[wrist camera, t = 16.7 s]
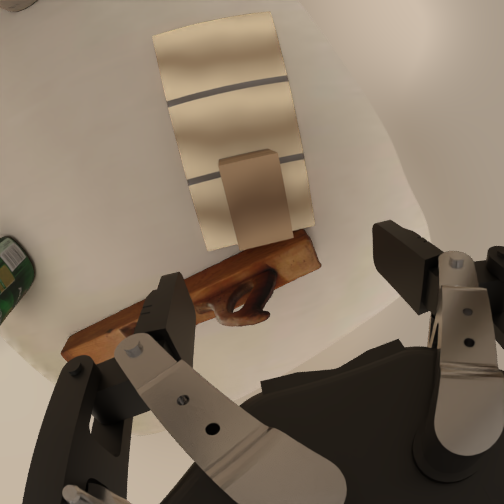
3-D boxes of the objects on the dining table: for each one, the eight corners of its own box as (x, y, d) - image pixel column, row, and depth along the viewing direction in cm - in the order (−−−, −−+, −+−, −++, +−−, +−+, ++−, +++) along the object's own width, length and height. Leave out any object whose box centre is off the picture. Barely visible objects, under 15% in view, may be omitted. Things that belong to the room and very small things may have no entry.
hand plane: (293, 209, 30) (325, 247, 21) (313, 249, 32) (347, 298, 23) (68, 335, 34) (42, 386, 25) (93, 360, 36) (73, 412, 27)
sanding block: (218, 159, 25) (218, 166, 21) (267, 148, 25) (277, 152, 21) (236, 229, 28) (239, 250, 24) (281, 219, 28) (293, 237, 24)
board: (155, 40, 21) (152, 36, 20) (267, 16, 21) (270, 11, 20) (208, 245, 30) (207, 251, 29) (310, 220, 30) (314, 225, 29)
